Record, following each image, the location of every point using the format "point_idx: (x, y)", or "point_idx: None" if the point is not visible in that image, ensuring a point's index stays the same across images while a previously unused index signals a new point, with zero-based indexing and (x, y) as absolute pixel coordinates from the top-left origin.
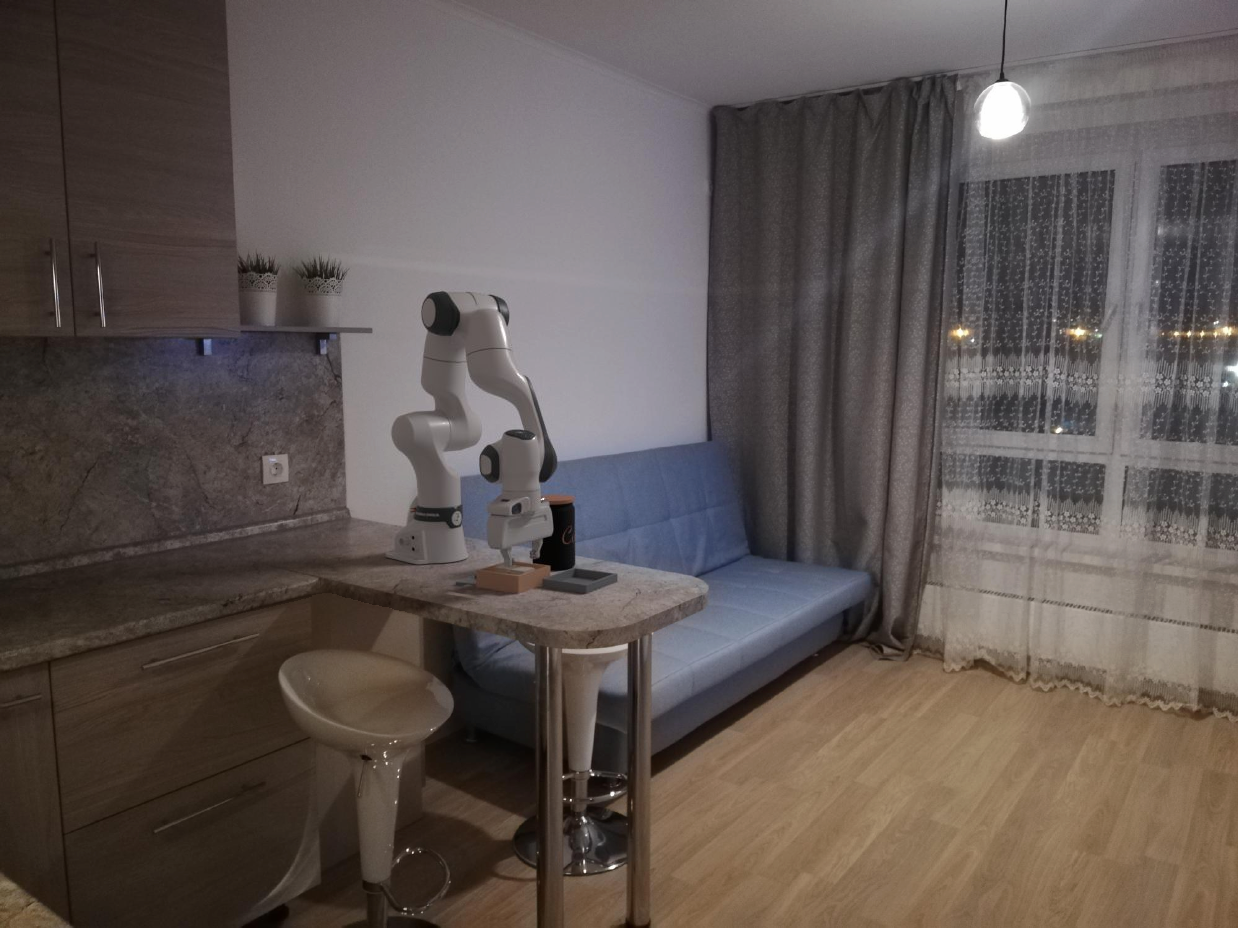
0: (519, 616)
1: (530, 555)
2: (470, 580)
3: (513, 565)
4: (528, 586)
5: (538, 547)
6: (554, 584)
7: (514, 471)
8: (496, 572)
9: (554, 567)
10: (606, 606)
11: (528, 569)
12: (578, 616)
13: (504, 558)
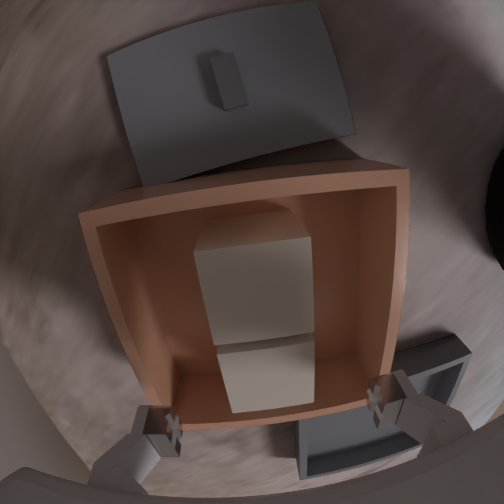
0: (86, 444)
1: (375, 388)
2: (165, 81)
3: (302, 305)
4: None
5: (411, 432)
6: (297, 422)
7: None
8: (127, 341)
9: (497, 257)
10: (254, 493)
11: (273, 404)
12: (173, 492)
13: (129, 437)
